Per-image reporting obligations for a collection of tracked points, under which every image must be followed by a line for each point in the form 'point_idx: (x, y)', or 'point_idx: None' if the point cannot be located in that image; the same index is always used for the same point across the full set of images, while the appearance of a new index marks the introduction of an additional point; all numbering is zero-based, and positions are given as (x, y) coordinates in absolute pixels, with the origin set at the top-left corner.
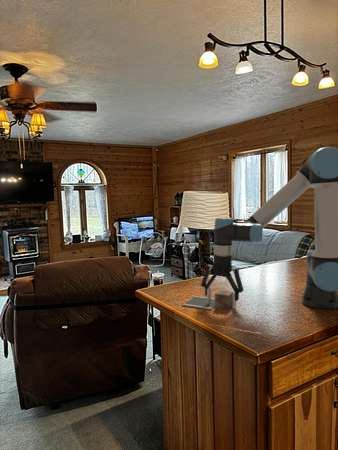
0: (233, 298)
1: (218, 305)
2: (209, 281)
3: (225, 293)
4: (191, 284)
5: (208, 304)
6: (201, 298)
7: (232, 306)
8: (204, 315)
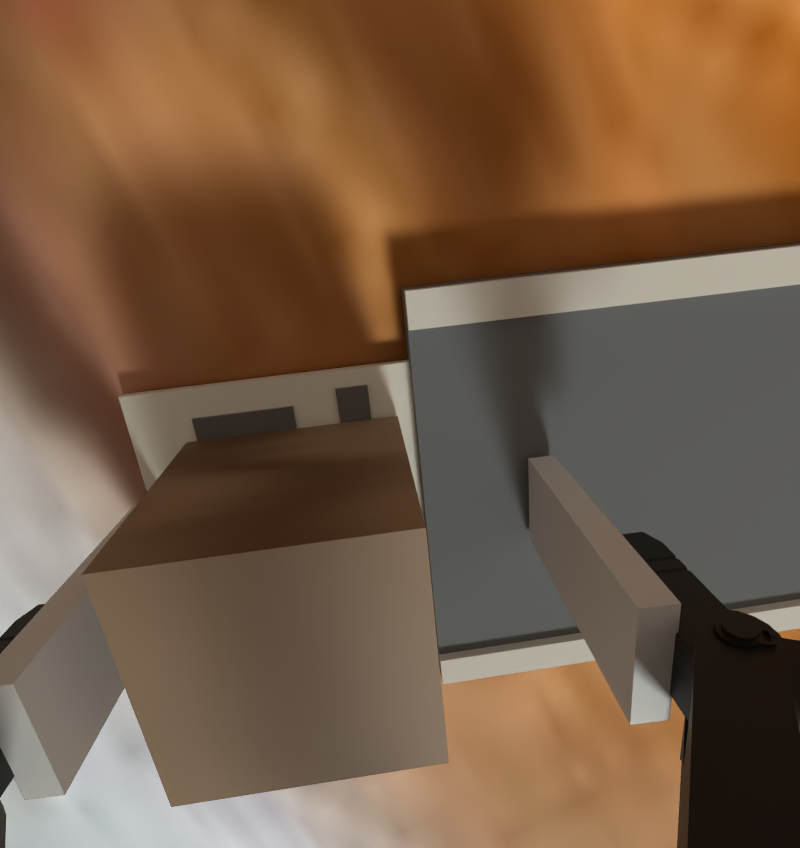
0: (66, 600)
1: (343, 437)
2: (774, 835)
3: (235, 654)
4: None
5: (524, 457)
6: None
7: None
8: (411, 67)
